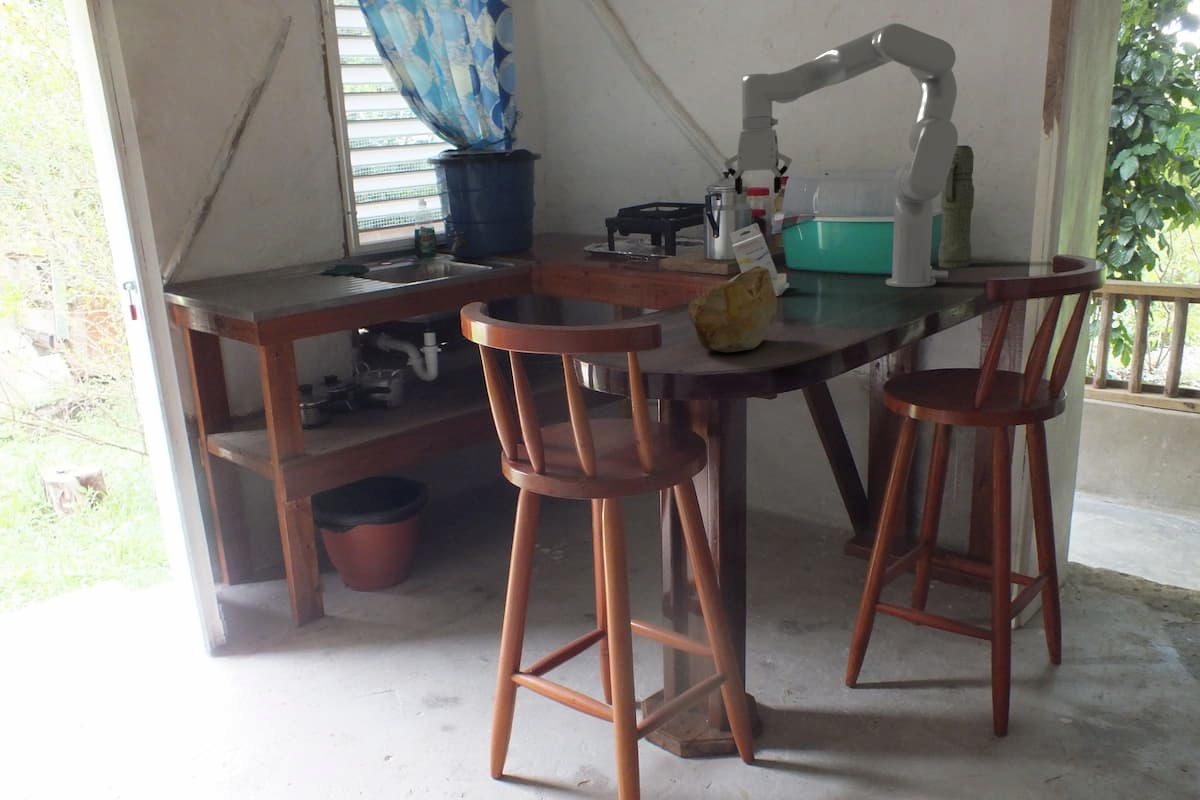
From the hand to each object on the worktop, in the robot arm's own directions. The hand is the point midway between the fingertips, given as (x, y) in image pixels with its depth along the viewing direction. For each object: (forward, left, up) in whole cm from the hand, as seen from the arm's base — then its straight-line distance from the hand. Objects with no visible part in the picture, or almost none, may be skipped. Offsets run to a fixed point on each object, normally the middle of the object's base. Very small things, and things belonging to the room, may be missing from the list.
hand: (758, 193), depth 250 cm
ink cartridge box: (-1, 0, -23) cm, 23 cm away
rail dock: (0, 0, -26) cm, 26 cm away
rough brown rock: (-8, +68, -26) cm, 73 cm away
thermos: (-48, -49, -26) cm, 73 cm away
